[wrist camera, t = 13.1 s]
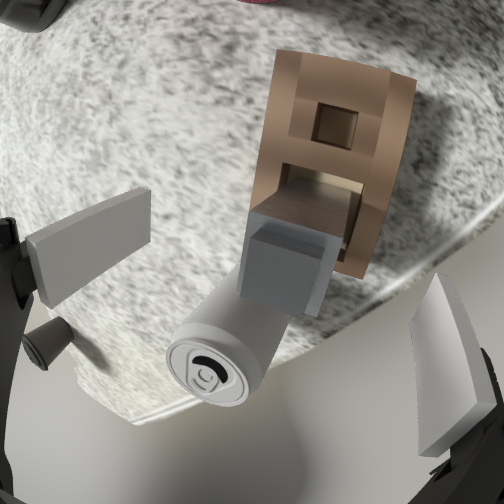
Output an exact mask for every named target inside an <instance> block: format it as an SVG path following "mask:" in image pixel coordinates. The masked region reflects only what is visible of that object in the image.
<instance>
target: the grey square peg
mask: <svg viewBox="0 0 504 504" xmlns="http://www.w3.org/2000/svg"><path fill="white" fill-rule="evenodd" d="M350 198H351V190H347V189H344V188H340V187H337V186H333V185H330V184H326V183H323V182H319V181H315V180H312V179H308V178H304V177H300V176H298V177H296V178H295V179H293V180H292V181H290V182H289V183H288V184H286V185H285V186H283V187H282V188H280V189H279V190H278V191H276V192H275V193H273V194H272V195H271V196H269V197H268V198H266V199H265V200H264V201H262V202H261V203H259V204H258V205H257V206H255V207H254V208H253V209H251V210H250V211H249V214H248V220H247V226H246V232H245V239H244V245H243V251H242V257H241V263H240V269H239V276H238V282H237V288H236V290H237V291H239V292H241V293H240V297H241V298H244V299H247V300H249V301H252V302H255V303H258V304H261V305H264V306H267V307H269V308H272V309H275V310H278V311H281V312H284V313H287V314H290V315H293V316H296V317H299V318H303V315H304V314H307V315H310V316H313V317H316V318H317V316H318V313H319V310H320V307H321V305H322V302H323V299H324V296H325V293H326V290H327V287H328V285H329V282H330V279H331V276H332V273H333V270H334V267H335V263H336V260H337V257H338V254H339V251H340V248H341V244H342V241H343V237H344V232H345V227H346V221H347V215H348V210H349V204H350Z"/></svg>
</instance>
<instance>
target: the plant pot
mask: <svg viewBox="0 0 504 504" xmlns="http://www.w3.org/2000/svg"><path fill="white" fill-rule="evenodd" d="M238 1H241V2H247V3H266V2H273V1H277V0H238Z"/></svg>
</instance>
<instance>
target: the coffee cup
mask: <svg viewBox="0 0 504 504" xmlns="http://www.w3.org/2000/svg"><path fill="white" fill-rule="evenodd" d="M73 339H74V335H73V332H72V330H71V328H70V327H69V325H68V324H67V322H66V321H65V320H64V319H63V318H61V317H56V318H54V319H53V320H51V321H49V322H47V323H45V324H44V325H42V326H40V327H38V328H36V329H34V330H33V331H31V332H29V333H27V334H23V337H22V344H23V347H24V349H25V351H26V353H27V355H28V356H29V359H30V360H31V361H32V362H33V363H34V364H35V365H37V366H38V367H39V368H40V369H42V370H43V371H45V370H46V371H47V370H48V366H49V365H50V364H51V363H52V362H53V360H54V359H55V358H56V357H57V356H58V355H59V354H60V353H61V352H62V351H63V350H64V349H65V347H66V346H67V345H68V344H69V343H70V342H71V341H72V340H73Z"/></svg>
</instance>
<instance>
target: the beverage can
mask: <svg viewBox="0 0 504 504" xmlns="http://www.w3.org/2000/svg"><path fill="white" fill-rule="evenodd" d="M240 263H241V261H240V262H239V263H238V264H237V265H236V266H235V267H234V268H233V269H232V270H231V271H230V272H229V273H228V275H227V276H226V277H225V278H224V279H223V280H222V281H221V282H220V283H219V284H218V285H217V286H216V287H215V289H214V290H213V291H212V292H211V293H210V294H209V295H208V296H207V297H206V298H205V299H204V300H203V301H202V302H201V304H200V305H199V306H198V307H197V308H196V309H195V310H194V311H193V312H192V313H191V314H190V315H189V316H188V318H187V319H186V320H185V321H184V322H183V323H182V324H181V325H180V326H179V327H178V328H177V329H176V331H175V332H174V334H173V336H172V340H171V345H170V346H169V348H168V349H167V352H166V362H167V365H168V368H169V370H170V372H171V374H172V375H173V377H174V378H175V379H176V381H177V382H178V383H179V384H180V385H181V386H182V387H183V388H184V389H186V390H187V391H188V392H189V393H191V394H192V395H194V396H195V397H197V398H199V399H201V400H203V401H205V402H208V403H211V404H214V405H218V406H236V405H239V404H241V403H242V402H244V401H245V400H246V398H247V396H248V395H249V394H251V393H253V392H255V391H256V390H257V389H258V388H259V386H260V384H261V382H262V380H263V378H264V376H265V374H266V372H267V369H268V367H269V365H270V363H271V361H272V359H273V357H274V354H275V352H276V350H277V348H278V346H279V343H280V341H281V339H282V337H283V334H284V332H285V330H286V328H287V325H288V323H289V321H290V318H291V316H292V315H290V314H287V313H284V312H281V311H278V310H275V309H272V308H269V307H267V306H264V305H261V304H258V303H255V302H252V301H249V300H247V299H244V298H241V297H240V293H241V292H239V291H237V290H236V288H237V282H238V276H239V269H240Z"/></svg>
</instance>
